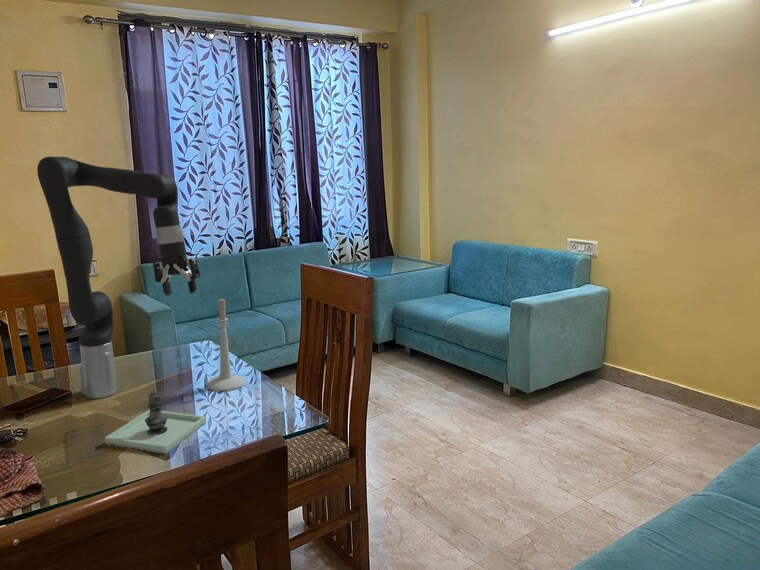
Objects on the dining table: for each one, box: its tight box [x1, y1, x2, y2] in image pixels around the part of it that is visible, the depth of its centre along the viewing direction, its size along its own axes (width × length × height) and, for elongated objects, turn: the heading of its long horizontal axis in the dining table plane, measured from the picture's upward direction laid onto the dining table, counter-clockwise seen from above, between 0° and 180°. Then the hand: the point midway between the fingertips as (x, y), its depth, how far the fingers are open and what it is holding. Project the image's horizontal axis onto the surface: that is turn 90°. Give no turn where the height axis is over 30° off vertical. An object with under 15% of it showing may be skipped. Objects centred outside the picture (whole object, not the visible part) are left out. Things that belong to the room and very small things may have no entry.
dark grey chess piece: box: [145, 389, 168, 435], centre depth 156 cm, size 6×6×12 cm
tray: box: [104, 409, 207, 455], centre depth 157 cm, size 19×19×2 cm
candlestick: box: [206, 297, 247, 392], centre depth 190 cm, size 13×13×30 cm
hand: (180, 293), depth 174 cm, fingers open, 8 cm apart
